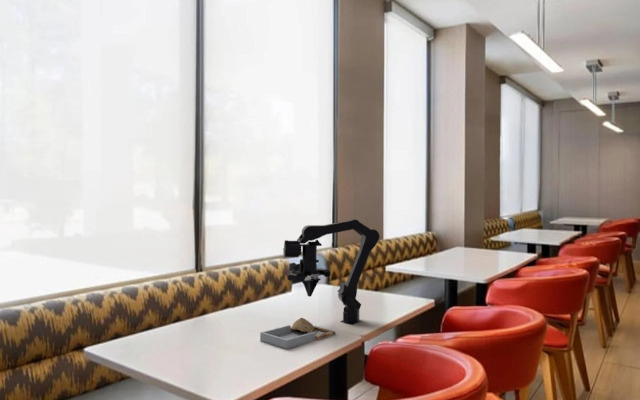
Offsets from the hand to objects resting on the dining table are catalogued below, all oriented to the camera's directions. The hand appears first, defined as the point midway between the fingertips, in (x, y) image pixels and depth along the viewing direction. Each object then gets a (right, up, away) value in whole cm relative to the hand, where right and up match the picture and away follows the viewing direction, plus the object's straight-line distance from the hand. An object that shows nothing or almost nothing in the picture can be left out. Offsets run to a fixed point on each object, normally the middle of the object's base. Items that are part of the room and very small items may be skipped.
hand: (309, 296), depth 195 cm
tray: (-7, -12, -19) cm, 24 cm away
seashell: (0, -12, -11) cm, 17 cm away
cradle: (0, -12, -11) cm, 16 cm away
